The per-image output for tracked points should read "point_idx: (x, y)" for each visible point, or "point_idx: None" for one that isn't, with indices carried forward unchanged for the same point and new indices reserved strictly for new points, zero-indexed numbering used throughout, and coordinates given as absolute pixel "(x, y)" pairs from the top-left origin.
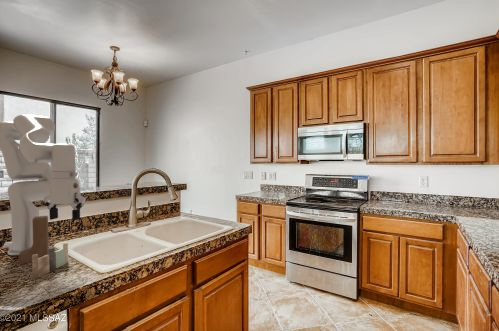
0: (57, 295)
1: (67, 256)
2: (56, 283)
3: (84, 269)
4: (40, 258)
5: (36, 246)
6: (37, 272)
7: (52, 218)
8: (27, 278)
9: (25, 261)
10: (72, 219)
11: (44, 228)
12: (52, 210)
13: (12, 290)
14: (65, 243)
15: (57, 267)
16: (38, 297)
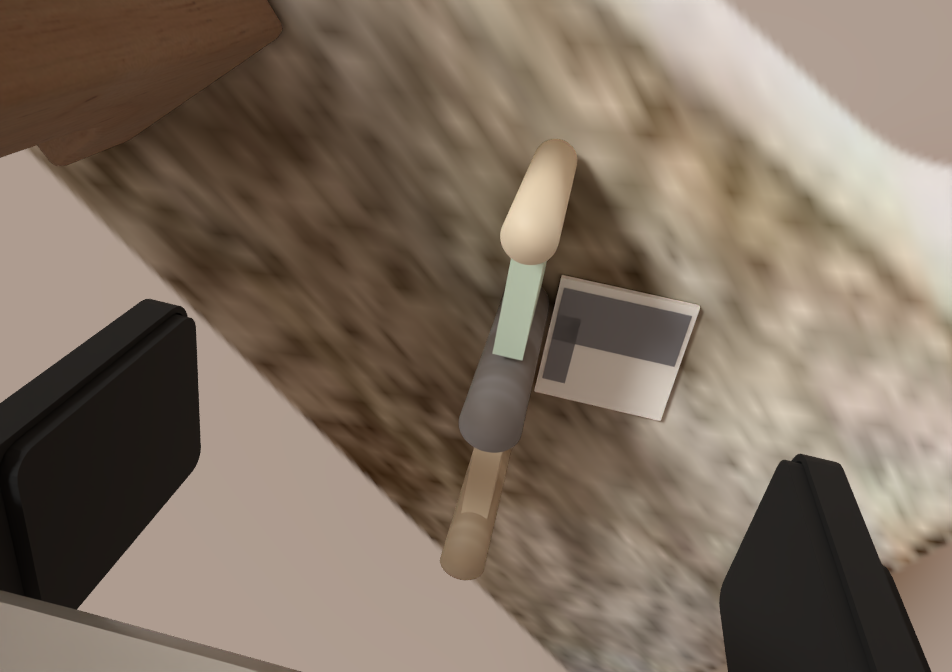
0: None
1: (571, 186)
2: (688, 487)
3: (805, 275)
4: (488, 499)
5: (119, 111)
6: (507, 463)
7: (192, 454)
8: (416, 387)
9: (142, 124)
10: (724, 606)
11: (6, 115)
12: (65, 596)
13: None
14: (542, 256)
15: (544, 271)
16: (680, 622)
